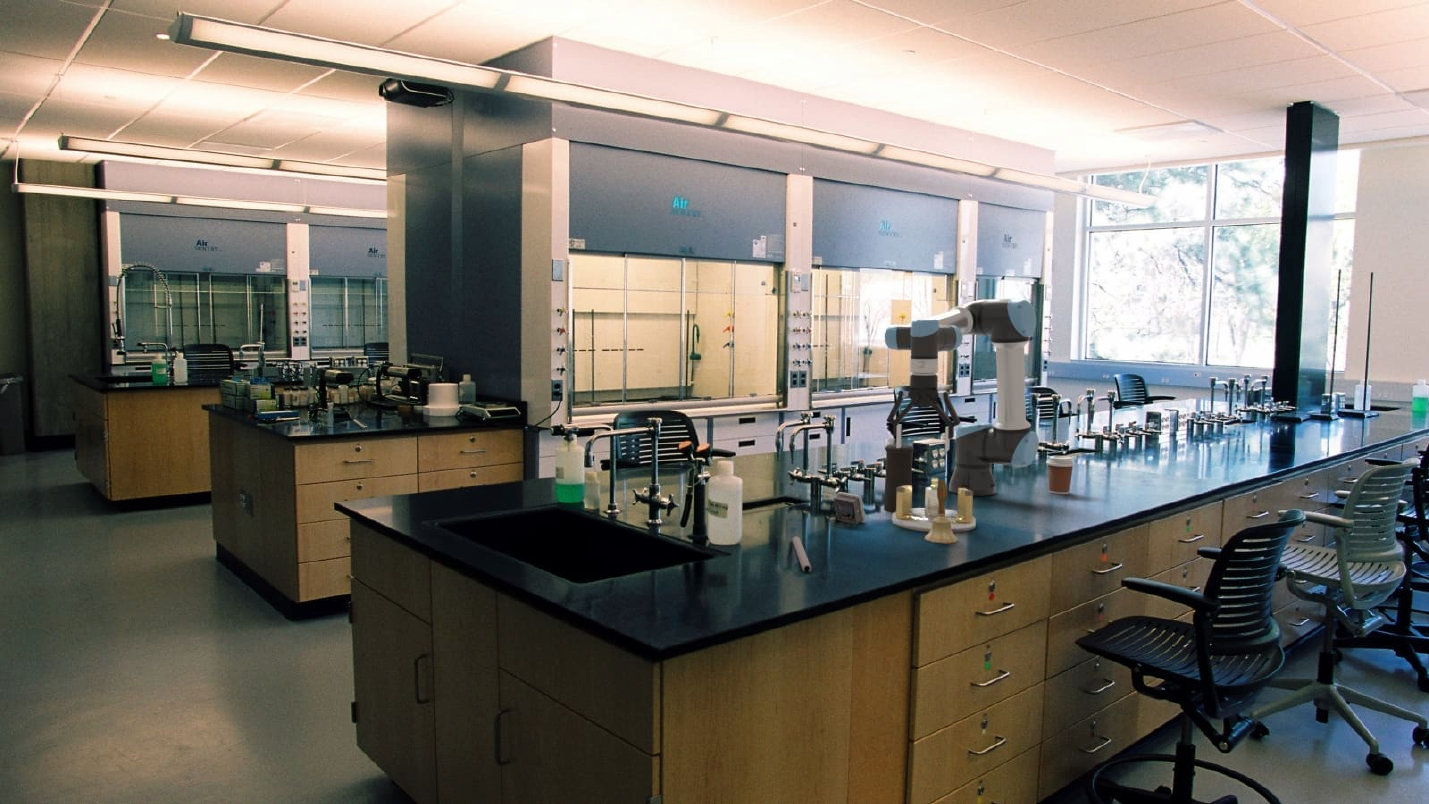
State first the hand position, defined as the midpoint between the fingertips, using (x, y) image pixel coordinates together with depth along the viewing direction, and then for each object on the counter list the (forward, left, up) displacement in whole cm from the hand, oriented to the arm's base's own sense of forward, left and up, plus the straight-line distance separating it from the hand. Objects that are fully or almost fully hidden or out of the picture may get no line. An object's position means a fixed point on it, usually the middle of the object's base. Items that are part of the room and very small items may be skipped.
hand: (922, 448), depth 255 cm
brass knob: (-7, +7, -19) cm, 21 cm away
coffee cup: (-37, +65, -21) cm, 78 cm away
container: (-18, 0, -21) cm, 28 cm away
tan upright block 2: (+10, +9, -19) cm, 23 cm away
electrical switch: (-4, -20, -21) cm, 29 cm away
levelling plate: (+2, +3, -21) cm, 21 cm away
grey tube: (+31, -44, -22) cm, 58 cm away
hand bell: (+20, -3, -21) cm, 30 cm away
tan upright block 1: (+3, -6, -19) cm, 20 cm away
